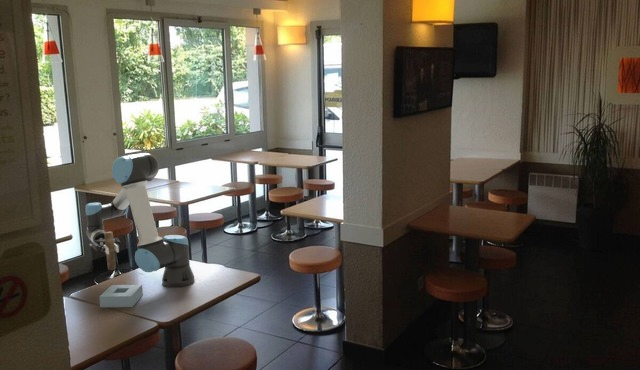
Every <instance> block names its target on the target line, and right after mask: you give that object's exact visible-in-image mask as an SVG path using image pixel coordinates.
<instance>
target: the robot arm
mask: <svg viewBox="0 0 640 370" xmlns="http://www.w3.org/2000/svg"><path fill="white" fill-rule="evenodd" d="M159 170H160V163H159V161H158V159H157V157H156V156H155V155H153V154H152V153H149V152H141V153H135V154H126V155H123V156H119V157H116V158H115V160H114V161H113V164H112V166H111V174H112V178H113V179H114V180H115V182H116V183H118V184H120V185H121V190H120V191H119V192H118V194H117V195H116V196H115V198H113V200H112V201H111V202H110V203H106V204H102V203H101V202H98V201H97V202H89V203H87V204H86V205H85V217H86V223H87V224H86V226H87V229H86V237H87V238H88V240H89V243H88V244H89V247H90V248H92V249H93V250H95V251H96V252H101V253H105V254H106V253H107V254H109V248H108V247H107V246H106V245H105V235H104V233H105V232H106V230H105V228H104V227H105V226H104V221H106V220H110V219H115V218H118V217H122V216H124V215H126V214H128V212H129V208H130V209H131V213H132V214H131V215H132V218H133V221H134V225H135V229H136V233H137V237H138V239H139V241H138V243H137V250H135V252H134V253H135V254H134V260H135V263H136V265H137V266H138V268H139V269H140V270H142V271H143V272H144V273H152V272H153V273H154V272H157V271H159V270H161V269H164V270H163V275H162V279H161V280H162V285H163V286H164V287H165V288H166V287H167V288H181V287H186V286H189V284H190V285H191V283H192V284H193V283H195V275H194V272H193V270H192V267H191V263H190V250H189V249H190V248H189V245H190V244H189V240H188V238H187V237H186V236H185V235H180V234H169V235H164V236H163V237H162V236H159V233H158V230H157V225H156V222H155V218H154V217H155V216H154V215H153V210H152V206H151V203H150V200H149V199H150V198H149V194H148V191H147V187H146V185H147V184H148V183H149V182H152V181H153V180H154V179H155V177H156V176H157V174H158V173H159ZM129 206H130V207H129ZM113 240H114V251H115V252H116V253H119V252H120V248H122V242H121V241H120V239H119V236H116V237H113Z"/></svg>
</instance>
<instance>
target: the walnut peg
mask: <svg viewBox="0 0 640 370" xmlns="http://www.w3.org/2000/svg"><path fill="white" fill-rule="evenodd" d="M104 235H105V245H106V246H107V247H108V248H109V254H107V253H106V252H105V254H106V262H107V270H109V271H112V270H115V269H117V262H116V253H115V252H116V251H115V250H114V240H113V239H114V233H113V231H105V233H104Z"/></svg>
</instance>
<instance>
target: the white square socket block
mask: <svg viewBox="0 0 640 370" xmlns="http://www.w3.org/2000/svg"><path fill="white" fill-rule="evenodd" d="M143 295H144V292H143V284H111V285H110V286H109V287H108V288H107V289H106V290H105V291H104V292H102V294H101V295H99V297H98V298H99V307H101V308H133V307H134V306H135V305H136V304H137V302H138V301H139V300H140V299H141V298H142V297H143Z"/></svg>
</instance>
